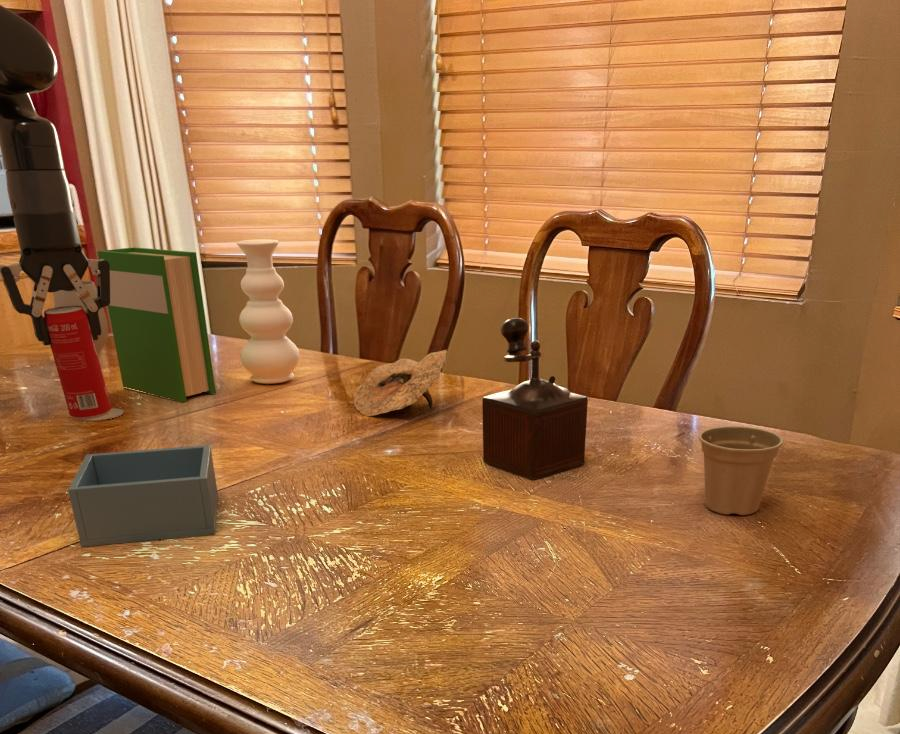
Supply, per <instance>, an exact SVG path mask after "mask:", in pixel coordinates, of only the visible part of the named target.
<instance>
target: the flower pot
mask: <svg viewBox="0 0 900 734" xmlns="http://www.w3.org/2000/svg"><path fill="white" fill-rule="evenodd" d="M698 440H699V442H700V443H701V451H702V454H703V470H704V472H703V473H704V504H705V507H706V508H707V509H708V510H710V511H712V512H714V513H717V514H719V515H725V516H728V515H731V514H736V515H739V516H747V515H751V514H754V513H756V512H757V511H758V510H759V509H760V506H761V501H762V498H763V495H764V491H765V488H766V484H767V481H768V478H769V474H770V472H771V468H772V465H773V462H774V459H775V458H776V457H777V455H778V453H779V450H780V448H782V446H783V445H784V438H783V437H782V436H781V435H780V434H778V433H776V432H773V431H772V430H771V431H770V430H767V429H763V428H758V427H752V426H739V425H736V426H735V425H725V426H716V427H715V426H714V427H709V428H706V429H703V430H702V431H700V432H699V433H698Z"/></svg>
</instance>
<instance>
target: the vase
mask: <svg viewBox="0 0 900 734" xmlns="http://www.w3.org/2000/svg"><path fill="white" fill-rule="evenodd" d="M236 245H237V246H238V248H239V249H240V250H241V251H242V253H244V255H245V257H246V264H247V267H246V268H245V275H244V276H243V277H242V278H241V281H240V288H241V290H242V292H243V293H244V294H245V295H246V296H247V297H248V298H249V300H247V302H246V305H245V307H244V308H243V309H242V310H241V312H240V314H239V318H238V319H239V324H240V327H241V328H242V329H243V331H244V332H245V333H247V334H248V335H249V336H250V338H248V341H247V342H246V343H245V344H244V345H243V347H242V349H241V352H240V361H241V364H242V366H243V367H244V369H245V370H246V371H247V372H248V373H250V374H251V376H250V380H251V381H252V382H254V383H257V384H265V385H269V384H270V385H271V384H273V385H274V384H281V383H287V382H289V381H291V380H292V379H294V377H295V375H294V373H293V372H294V370H295V369H296V368H297V367H298V365H299V362H300V351H299V349H298V347H297V344H295V343H294V342H293V341H292V340H291V339H289V336H286V334H287V332H288V331H289V330H290V329H291V327H292V325H293V322H294V318H293V313H292V312H291V310H290V309H289V308H288V307H287V306H286V305H285V304H284V303H283V301H282V299H279V296H280V294H281V293H282V292H283V290H284V288H285V282H284V280H283V279H284V278H283V277H281V275H279V274H278V273H277V270H276V267H274V263H273V254H274V252H275V251H276V248H277V247H278V245H279V240H277V239H271V238H255V239H254V238H253V239H244V240H239V241H237V242H236Z"/></svg>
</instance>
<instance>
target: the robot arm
mask: <svg viewBox="0 0 900 734" xmlns="http://www.w3.org/2000/svg"><path fill="white" fill-rule="evenodd" d="M58 66H59V65H58V61H57V57H56V54H55V51H54V49H53V48H52V46H51V44H50V43H49V41H48V40H47V39H46V37H45V36H44V35H43V34H42V33H41V32H40V31H39V29H37V28H36V27H35V26H34V25H33V24H32V23H30V22H29V21H27V20H26V19H24V18H23V17H21V16H20V15H18V14H17V13H15V12H14V11H12V10H10V9H8V8H7V7H5V6H3V5H2V4H0V153H1V158H2V162H3V167H4V170H5V179H6V187H7V188H6V190H7V195H8V201H9V204H10V208H11V213H12V219H13V223H14V228H15V232H16V237H17V241H18V246H19V250H20V258H19V261H18V262H17V263H16V262H15V263H11V264H9V265H5V264H1V265H0V278H1V280H2V283H3V286H4V287H5V290H6V292H7V295H8V298H9V299H10V302H11V304H12V305H11V306H12V307H13V310H15V311H16V312H17V313H18V314H24V315H28V316H29V317H30V319H31V322H32V326H33V327H32V328H33V332H34V336H35V338H36V340H37V341H38V342H41V344H42V345H43V346H50V341H49V337H48V332H47V327H46V323H45V318H44V315H43V314H42V313H43V311H44V310H43V309H44V306H45V305H44V304H45V302H46V299H47V297H48V293H50V294H51V293H54V292H57V291H60V290H64V291H73V290H74V292H75V293H76V295H77V296H78V297H79V298H80V300H81V301H82V303H83V304H84V306H85V307H86V311H85V313H86V314H87V316H88V319H89V323H90V328H91V332H92V337H93V340H98V335H101V326H100V321H99V315H98V311H99V309H101V308H105V307H108V305H109V304H110V264H109V262H108V261H106V260H103V259H99V258H98V259H92V258H91V259H90V258H88V257H87V255H85V253H84V250H83V248H82V243H81V238H80V232H79V226H78V222H77V221H78V220H77V217H76V212H75V201H74V198H73V195H72V191H71V190H72V189H71V187H70V186H71V185H70V183H69V180H68V177H67V173H66V170H65V163H64V159H63V152H62V148H61V144H60V139H59V138H60V137H59V134H58V131H57V128H56V126H55V124H54V123H53V122H52V121H50V119H47V118H46V117H43V116H41V115H39V114H38V113H37V111H36V108H35V107H34V104H33V101H32V99H31V96H30V94H37V93H41V92H45V91H47V90H48V89H50V88H51V87H52V86H53V85H54V83H55V82H56V80H57V77H58V72H59V71H58V70H59V67H58ZM88 267H89V268H90V270H91V273H92V274H93V275H94V276H96V288H97V298H95V299H92V297H91V296H90V294H89V292H88V290H87V289H86V287H85V286H84V284H83V283H82V281H83V277H84V276H85V273H86V272H87V270H88ZM21 272H23V273H24V274H25V275H26V277H28V278H29V279H30V280H31V281H32V282H33V287H32V291H31V298H30V302H29V304H28V303H25V302H24V300H23V297H22V294H21V292H20V290H19V287H18V285H17V282H19V281H20V280H21V279H20V278H21V277H20V273H21Z"/></svg>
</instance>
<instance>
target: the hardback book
mask: <svg viewBox="0 0 900 734" xmlns="http://www.w3.org/2000/svg"><path fill="white" fill-rule="evenodd" d="M96 252H97V258H98V259H103V260H106V261H108V262H109V264H110V304H109V305H108V306H107V309H108V315H109V321H110V325H111V330H112V335H113V341H114V346H115V351H116V356H117V362H118V366H119V373H120V377H121V383H122V388H123V387H127V388H131V389H135V390H139V391H143V392H146V393H150V394H154V395H157V396H162V397H165V398H170V399H174V400H177V401H176V402H178V401H181V402H180V403H184V402H183V401H186V402H187V397H190V396H194V395H198V394H203V393H202V392H206V393H210V394H213V393H216V394H217V392H216V385H215V378H214V370H213V364H212V356H211V348H210V341H209V334H208V327H207V322H206V321H207V320H206V313H205V308H204V307H205V306H204V299H203V291H202V285H201V279H200V272H199V265H198V258H197V252H196V251H185V250H174V249H173V250H172V249H160V248H148V247H137V246H135V247H134V246H133V247H132V246H131V247H124V248H114V249H103V250H97V251H96ZM206 393H205V394H206ZM210 394H209V395H210ZM213 395H214V394H213ZM157 396H156V397H157ZM165 398H164V399H165ZM170 399H169V400H170ZM174 400H173V401H174Z"/></svg>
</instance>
